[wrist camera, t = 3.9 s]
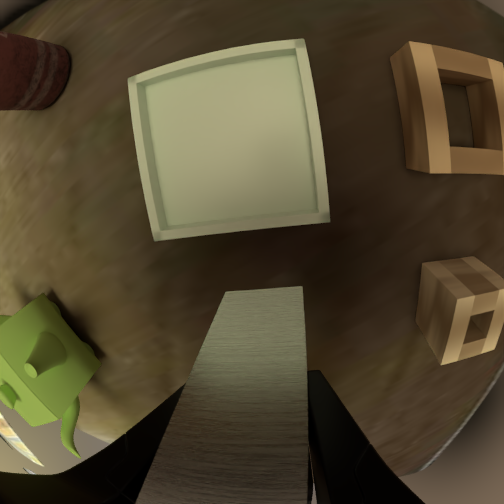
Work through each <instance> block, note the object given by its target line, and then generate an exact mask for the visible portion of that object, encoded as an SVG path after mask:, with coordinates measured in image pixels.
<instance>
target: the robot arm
mask: <svg viewBox="0 0 504 504" xmlns="http://www.w3.org/2000/svg"><path fill="white" fill-rule="evenodd" d="M185 384H186V383H185ZM185 384H184V385H183V386H182V387H180V388H179V389H178V390H177V391H176V392H175V393H173V394H172V395H171V396H170V397H169V398H168V399H166V400H165V401H164V402H163V403H162V404H160V405H159V406H158V407H157V408H156V409H154V410H153V411H152V412H151V413H149V414H148V415H147V416H146V417H145V418H143V419H142V420H141V421H140V422H138V423H137V424H136V425H135V426H133V427H132V428H131V429H130V430H128V431H127V432H126V434H123V435H122V436H121V437H119V438H118V439H117V440H115V441H114V442H113V443H111V444H110V445H109V446H107V447H106V448H104V449H103V450H101V451H100V452H98V453H96V454H95V455H93V456H91V457H90V458H88V459H87V460H85V461H83V462H81V463H79V464H77V465H76V466H74V467H72V468H71V469H69V470H66V471H64V472H62V473H59V474H53V475H35V474H19V473H8V472H1V471H0V504H135V503H136V501H137V498H138V496H139V493H140V491H141V489H142V486H143V484H144V481H145V479H146V477H147V474H148V472H149V469H150V467H151V465H152V462H153V460H154V457H155V455H156V453H157V450H158V448H159V446H160V443H161V441H162V438H163V436H164V434H165V431H166V429H167V427H168V424H169V422H170V420H171V417H172V415H173V413H174V410H175V408H176V405H177V403H178V401H179V398H180V396H181V394H182V391H183V389H184V387H185ZM307 389H308V441H309V446H308V496H307V504H311V501H312V494H313V477H314V484H315V491H316V499H317V504H425V503H424V502H423V501H422V500H421V499H420V498H419V497H418V496H417V495H416V494H414V493H413V492H412V491H411V490H410V489H409V488H408V487H407V486H406V485H405V484H404V483H403V482H402V481H401V480H400V479H399V478H398V477H397V476H396V474H395V473H394V472H393V471H392V470H391V469H390V468H389V467H388V466H387V465H386V463H385V462H384V461H383V459H382V458H381V457H380V455H379V454H378V453H377V451H376V450H375V449H374V447H373V446H372V444H370V442H369V440H368V439H367V437H366V436H365V435H364V433H363V432H362V430H361V429H360V427H359V426H358V425H357V423H356V422H355V420H354V419H353V417H352V416H351V415H350V413H349V412H348V410H347V409H346V407H345V406H344V404H343V403H342V402H341V400H340V399H339V397H338V396H337V394H336V393H335V391H334V390H333V389H332V387H331V386H330V384H329V383H328V381H327V380H326V378H325V377H324V375H323V374H322V373H321V371H320V370H312V371H307ZM309 448H310V453H309ZM310 455H311V461H310ZM311 462H312V469H313V477H312V469H311Z"/></svg>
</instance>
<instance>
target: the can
mask: <svg viewBox="0 0 504 504" xmlns="http://www.w3.org/2000/svg"><path fill="white" fill-rule="evenodd" d="M69 70H70V61H69V56H68V53H67V51H66V50H65V49H64V47H62V46H59V45H56V44H52V43H49V42H45V41H41V40H37V39H33V38H29V37H25V36H21V35H16V34H11V33H6V32H1V31H0V110H42V109H44V108H46V107H47V106H49V105H50V104H51V103H52V102H53V101H54V100H56V99H57V97H58V96H59V95H60V93H61V92H62V90H63V88H64V86H65V84H66V82H67V79H68V75H69Z"/></svg>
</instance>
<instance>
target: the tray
mask: <svg viewBox="0 0 504 504" xmlns="http://www.w3.org/2000/svg"><path fill="white" fill-rule="evenodd" d="M128 88H129V98H130V107H131V116H132V124H133V131H134V138H135V145H136V152H137V158H138V164H139V170H140V175H141V181H142V186H143V192H144V197H145V202H146V206H147V211H148V216H149V221H150V225H151V230H152V234H153V238H154V241H161V240H169V239H177V238H185V237H193V236H202V235H211V234H219V233H228V232H237V231H247V230H256V229H265V228H275V227H285V226H295V225H306V224H316V223H327V222H330V211H329V199H328V188H327V178H326V169H325V160H324V152H323V144H322V137H321V129H320V122H319V116H318V109H317V103H316V97H315V91H314V86H313V80H312V75H311V70H310V64H309V59H308V55H307V50H306V45H305V41H304V39H294V40H283V41H274V42H266V43H259V44H252V45H246V46H240V47H235V48H230V49H225V50H220V51H216V52H211V53H207V54H203V55H199V56H195V57H191V58H187V59H184V60H180V61H177V62H174V63H170V64H167V65H164V66H161V67H158V68H155V69H152V70H149V71H146V72H143V73H141V74H138V75H135V76H132V77H130V78H128Z"/></svg>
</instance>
